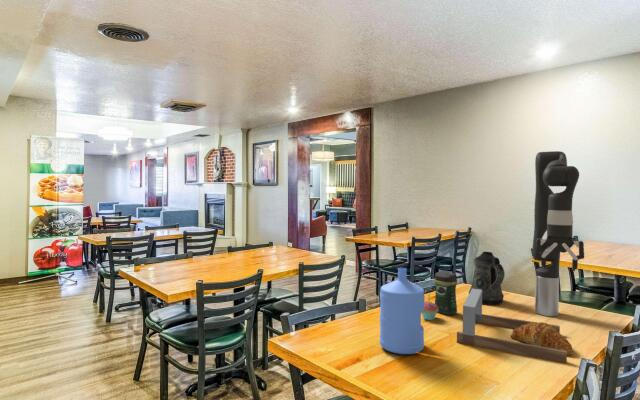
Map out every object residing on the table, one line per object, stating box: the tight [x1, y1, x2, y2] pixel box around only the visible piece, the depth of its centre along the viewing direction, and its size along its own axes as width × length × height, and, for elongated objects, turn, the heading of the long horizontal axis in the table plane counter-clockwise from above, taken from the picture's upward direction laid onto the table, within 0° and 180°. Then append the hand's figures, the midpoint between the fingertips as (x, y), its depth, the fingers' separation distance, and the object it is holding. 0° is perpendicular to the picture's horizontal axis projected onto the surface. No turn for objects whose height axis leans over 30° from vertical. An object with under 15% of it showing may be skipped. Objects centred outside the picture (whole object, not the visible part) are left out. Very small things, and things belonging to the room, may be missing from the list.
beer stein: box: [468, 251, 505, 306], centre depth 190 cm, size 16×19×25 cm
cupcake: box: [421, 293, 439, 321], centre depth 164 cm, size 9×8×12 cm
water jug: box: [379, 267, 426, 355], centre depth 134 cm, size 16×16×28 cm
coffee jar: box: [434, 271, 458, 316], centre depth 172 cm, size 10×8×19 cm
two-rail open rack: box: [456, 289, 568, 364], centre depth 141 cm, size 28×34×14 cm
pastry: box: [510, 321, 574, 356], centre depth 136 cm, size 21×13×8 cm, turn 41°
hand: (558, 269), depth 131 cm, fingers open, 8 cm apart
